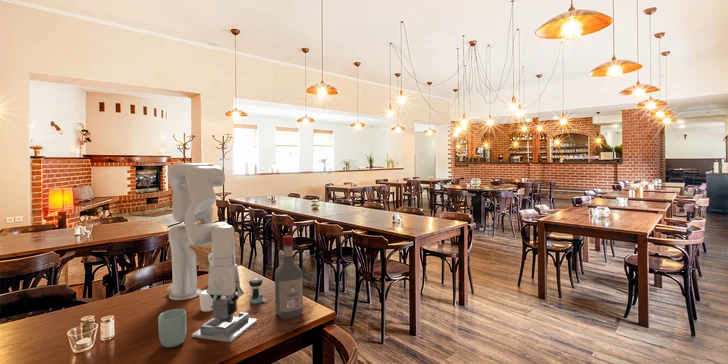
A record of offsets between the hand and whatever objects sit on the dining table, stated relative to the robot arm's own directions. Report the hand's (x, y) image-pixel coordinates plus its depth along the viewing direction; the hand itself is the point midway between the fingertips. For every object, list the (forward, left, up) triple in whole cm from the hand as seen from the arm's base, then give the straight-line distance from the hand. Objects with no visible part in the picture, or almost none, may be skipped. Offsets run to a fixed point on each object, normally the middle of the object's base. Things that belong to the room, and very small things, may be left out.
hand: (225, 312), depth 121 cm
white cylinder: (-18, +14, -6) cm, 24 cm away
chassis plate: (0, 0, -6) cm, 6 cm away
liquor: (+16, +17, -6) cm, 24 cm away
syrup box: (-36, +43, -6) cm, 57 cm away
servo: (0, 0, -1) cm, 1 cm away
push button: (-2, +24, -6) cm, 25 cm away
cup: (-10, -13, -6) cm, 17 cm away
